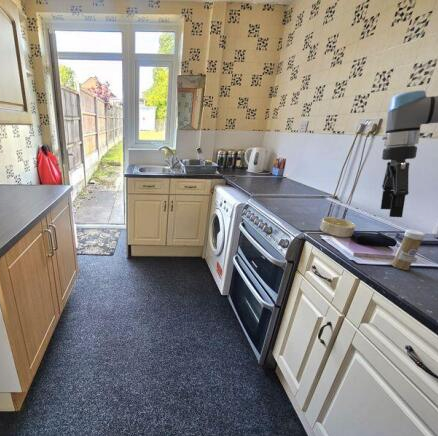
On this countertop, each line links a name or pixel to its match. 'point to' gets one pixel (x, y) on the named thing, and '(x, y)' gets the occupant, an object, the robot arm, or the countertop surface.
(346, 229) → the beige round bowl
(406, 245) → the sprinkles bottle
